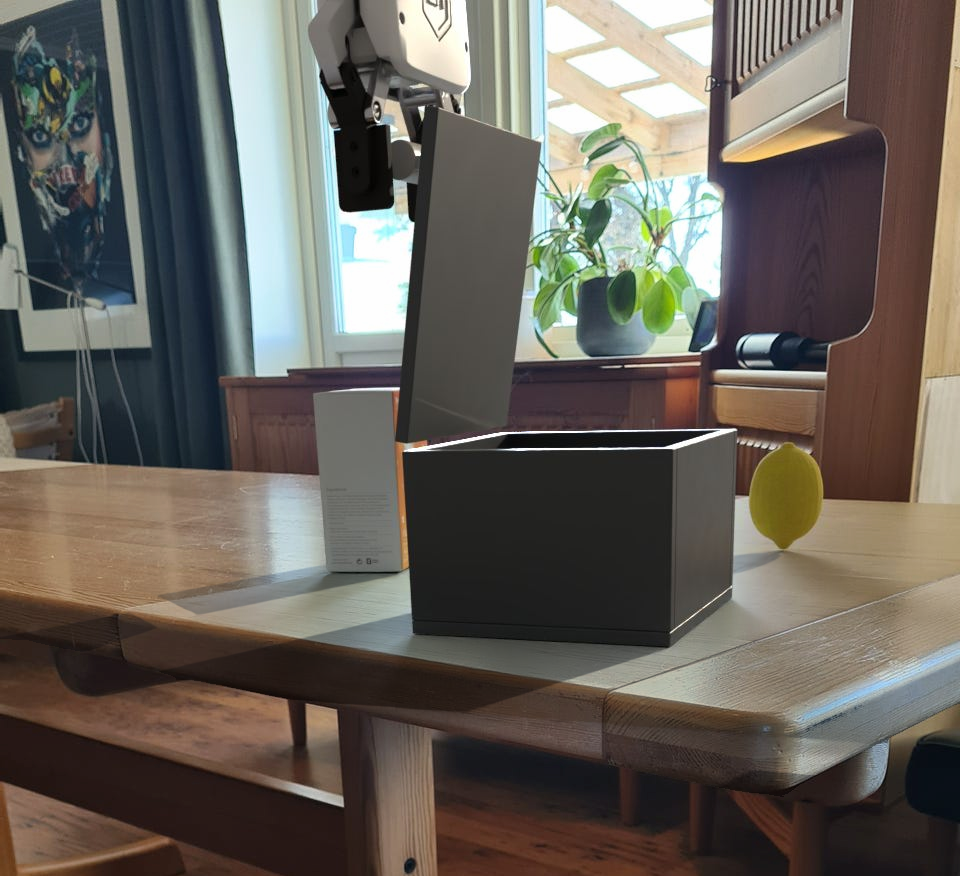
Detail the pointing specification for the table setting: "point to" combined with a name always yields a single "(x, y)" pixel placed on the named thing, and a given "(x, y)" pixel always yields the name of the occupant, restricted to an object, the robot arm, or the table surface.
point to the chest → (571, 534)
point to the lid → (463, 273)
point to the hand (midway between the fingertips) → (402, 214)
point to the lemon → (786, 495)
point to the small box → (362, 480)
